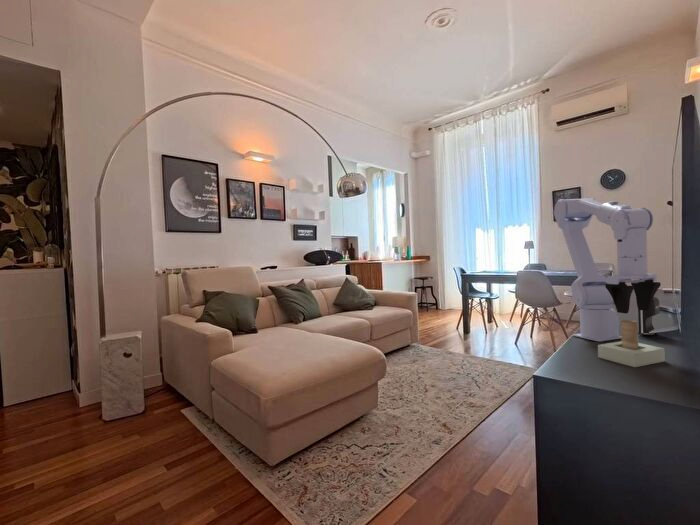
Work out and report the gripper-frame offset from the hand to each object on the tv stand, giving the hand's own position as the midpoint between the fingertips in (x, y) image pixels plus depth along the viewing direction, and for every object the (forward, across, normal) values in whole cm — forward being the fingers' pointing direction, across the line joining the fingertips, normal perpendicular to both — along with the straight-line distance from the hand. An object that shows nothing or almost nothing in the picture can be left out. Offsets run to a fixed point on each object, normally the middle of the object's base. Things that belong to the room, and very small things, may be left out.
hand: (633, 311), depth 84 cm
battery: (+10, +23, +10) cm, 27 cm away
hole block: (+10, -6, -3) cm, 12 cm away
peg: (+10, -6, -3) cm, 12 cm away
